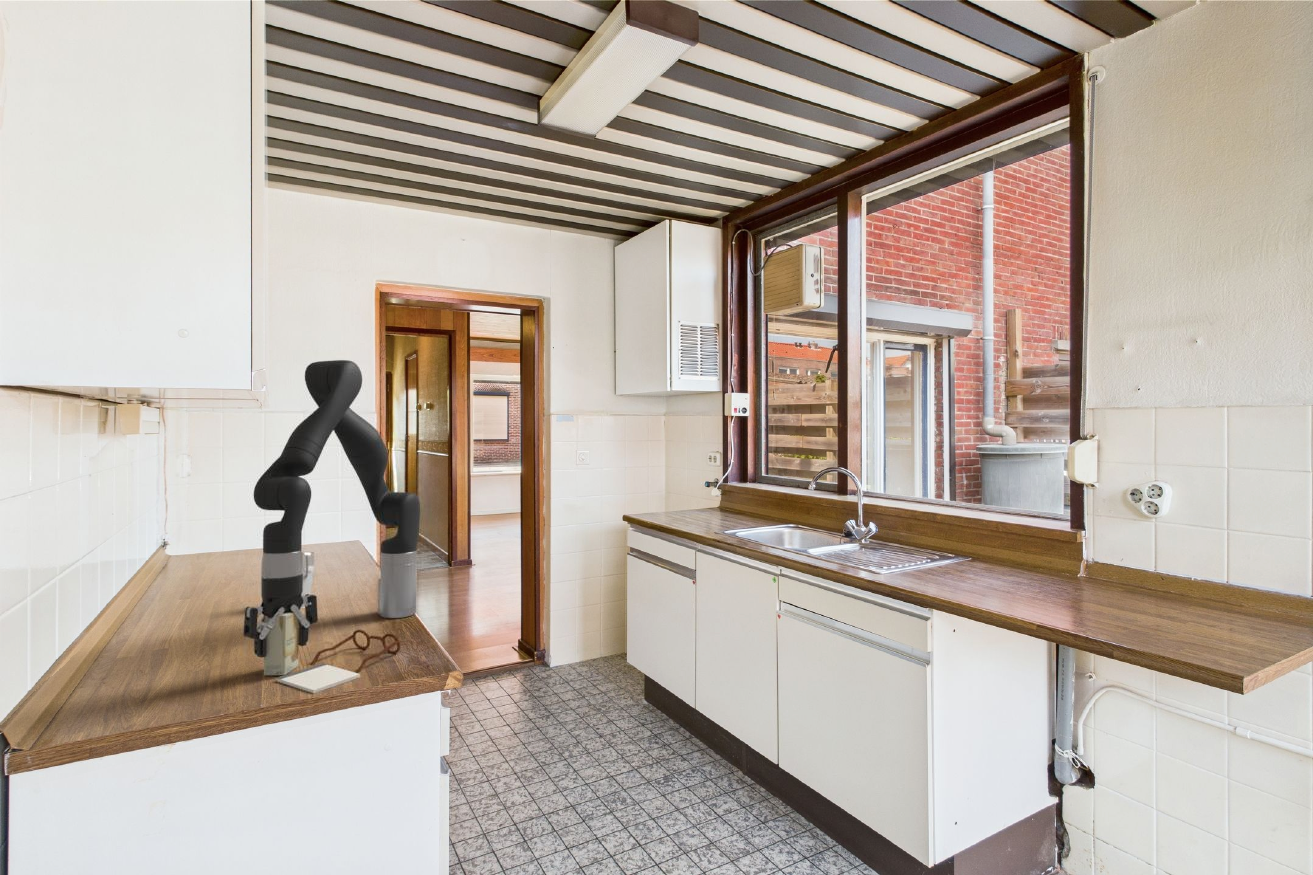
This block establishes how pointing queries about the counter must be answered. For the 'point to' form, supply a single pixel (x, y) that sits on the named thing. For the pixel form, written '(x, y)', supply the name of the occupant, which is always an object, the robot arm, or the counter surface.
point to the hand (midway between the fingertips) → (281, 650)
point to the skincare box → (282, 645)
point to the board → (318, 678)
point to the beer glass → (308, 573)
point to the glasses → (364, 646)
